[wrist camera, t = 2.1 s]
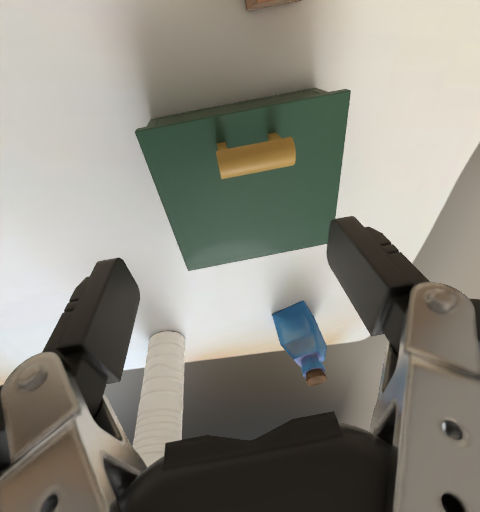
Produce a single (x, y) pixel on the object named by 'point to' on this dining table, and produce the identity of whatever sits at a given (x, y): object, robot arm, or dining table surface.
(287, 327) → the perfume bottle
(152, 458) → the water bottle
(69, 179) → the dining table surface
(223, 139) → the cover
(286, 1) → the block
